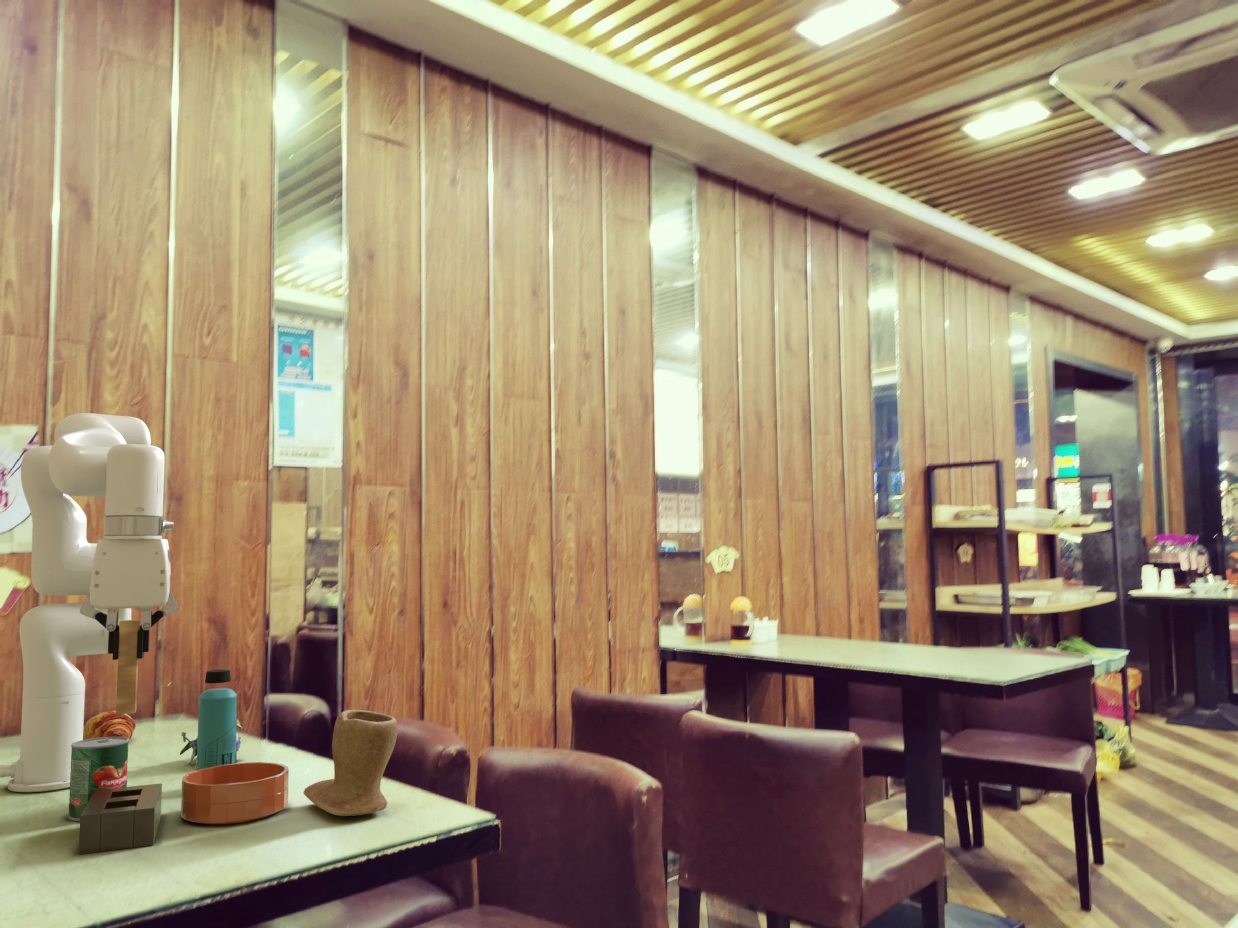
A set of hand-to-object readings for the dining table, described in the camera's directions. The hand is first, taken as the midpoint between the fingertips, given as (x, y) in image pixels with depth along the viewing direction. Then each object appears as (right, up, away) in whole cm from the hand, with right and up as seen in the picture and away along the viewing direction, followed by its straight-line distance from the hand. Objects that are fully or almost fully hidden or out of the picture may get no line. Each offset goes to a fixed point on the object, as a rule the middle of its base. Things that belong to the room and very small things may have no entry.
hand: (128, 657), depth 132 cm
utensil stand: (-1, -25, 0) cm, 25 cm away
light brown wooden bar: (0, -8, -1) cm, 8 cm away
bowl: (+11, -26, +10) cm, 30 cm away
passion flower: (-9, -30, +46) cm, 56 cm away
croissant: (-41, -33, +69) cm, 87 cm away
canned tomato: (-11, -27, +11) cm, 31 cm away
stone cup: (+29, -26, +12) cm, 41 cm away
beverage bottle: (+1, -28, +27) cm, 39 cm away
